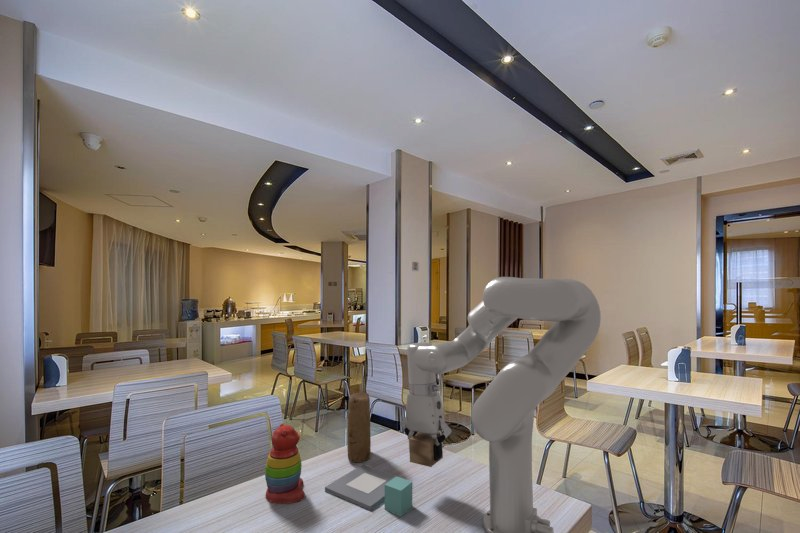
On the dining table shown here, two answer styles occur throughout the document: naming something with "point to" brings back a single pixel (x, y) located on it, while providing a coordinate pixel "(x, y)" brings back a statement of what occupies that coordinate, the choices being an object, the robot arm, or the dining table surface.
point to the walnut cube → (422, 449)
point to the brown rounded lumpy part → (359, 427)
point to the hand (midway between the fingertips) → (426, 455)
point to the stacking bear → (284, 467)
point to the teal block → (398, 495)
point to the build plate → (362, 486)
